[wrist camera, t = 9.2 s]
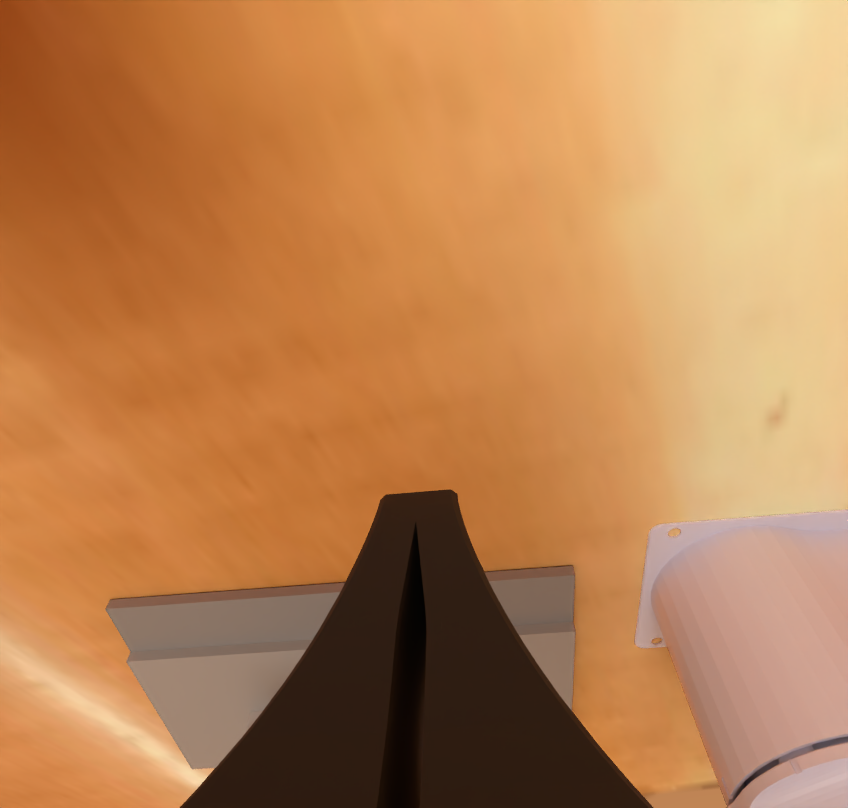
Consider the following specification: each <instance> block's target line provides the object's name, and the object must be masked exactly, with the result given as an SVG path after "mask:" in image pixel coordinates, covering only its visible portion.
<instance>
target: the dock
mask: <svg viewBox="0 0 848 808" xmlns="http://www.w3.org/2000/svg"><path fill="white" fill-rule="evenodd" d="M485 575H486V577H487V579H488V581H489V583H490V585H491V587H492V589H493V591H494V592H495V594H496V596H497V598H498V600H499V602H500V604H501V605H502V607H503V609H504V611H505V612H506V614H507V616H508V618H509V619H510V621H511V623H512V625H513V626H514V628H515V630H516V631H517V633H518V634H519V636H520V638H521V639H522V641H523V643H524V644H525V646H526V647H527V649H528V650H529V652H530V653H531V655H532V656H533V658H534V659H535V661H536V662H537V664H538V665H539V667H540V668H541V670H542V671H543V673H544V674H545V675H546V677H547V678H548V680H549V681H550V682H551V684H552V685H553V687H554V688H555V690H556V691H557V692H558V694H559V695H560V696H561V698H562V699H563V700H564V702H565V703H566V704H567V705H568V707H569V708H570V709H571V711H572V696H573V674H574V653H575V627H574V623H573V613H574V589H575V573H574V569H573V566H562V567H548V568H535V569H521V570H507V571H494V572H485ZM344 584H345V582H344V583H330V584H317V585H303V586H290V587H276V588H262V589H249V590H235V591H222V592H208V593H194V594H181V595H167V596H153V597H140V598H126V599H113V600H110V601H109V603H108V605H107V607H106V611H107V613H108V614H109V616H110V618H111V619H112V621H113V623H114V625H115V626H116V628H117V630H118V631H119V633H120V635H121V636H122V638H123V640H124V641H125V643H126V645H127V646H128V648H129V650H130V651H131V653H130V655H129V657H128V659H127V663H128V665H129V667H130V668H131V670H132V672H133V673H134V675H135V677H136V678H137V680H138V682H139V683H140V685H141V686H142V688H143V690H144V691H145V693H146V695H147V696H148V698H149V700H150V701H151V703H152V704H153V706H154V708H155V709H156V711H157V713H158V714H159V716H160V718H161V719H162V721H163V722H164V724H165V726H166V727H167V729H168V731H169V732H170V734H171V736H172V737H173V739H174V740H175V742H176V744H177V745H178V747H179V749H180V750H181V752H182V754H183V755H184V757H185V758H186V760H187V762H188V763H189V765H190V767H191V768H192V769H203V768H216V767H217V766H218V764H219V763H220V762H221V761H222V760H223V759H224V758H225V756H226V755H227V754H228V753H229V752H230V751H231V749H232V748H233V747H234V746H235V745H236V744H237V742H238V741H239V740H240V739H241V738H242V737H243V735H244V734H245V733H246V732H247V730H248V729H249V728H250V727H251V726H252V724H253V723H254V722H255V720H256V719H257V718H258V717H259V715H260V714H261V713H262V711H263V710H264V709H265V707H266V706H267V705H268V703H269V702H270V701H271V699H272V698H273V697H274V695H275V694H276V693H277V691H278V690H279V689H280V687H281V686H282V685H283V683H284V682H285V680H286V679H287V678H288V676H289V675H290V673H291V672H292V670H293V669H294V667H295V666H296V664H297V663H298V661H299V660H300V659H301V657H302V656H303V654H304V653H305V651H306V649H307V648H308V646H309V645H310V643H311V642H312V640H313V638H314V637H315V635H316V634H317V632H318V630H319V629H320V627H321V625H322V624H323V622H324V620H325V618H326V617H327V615H328V613H329V611H330V609H331V608H332V606H333V604H334V602H335V601H336V599H337V597H338V595H339V594H340V592H341V590H342V588H343V586H344Z"/></svg>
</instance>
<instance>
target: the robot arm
mask: <svg viewBox="0 0 848 808" xmlns="http://www.w3.org/2000/svg"><path fill="white" fill-rule="evenodd" d="M674 528H677V529H680V533H679V534H678V535H677V536H669V535H668V532H669V531H670V530H671V529H674ZM655 638H661V639H662V641H661V642H659V643H656V644H654V643H651V641H652V640H653V639H655ZM634 642H635V645H636V646H637V647H640V648H656V647H667V648H668V651H669V653H670V656H671V659H672V661H673V664H674V667H675V669H676V672H677V675H678V677H679V680H680V683H681V685H682V688H683V691H684V693H685V696H686V699H687V701H688V704H689V706H690V709H691V712H692V714H693V717H694V720H695V722H696V725H697V728H698V730H699V733H700V736H701V738H702V741H703V744H704V746H705V749H706V752H707V754H708V757H709V760H710V762H711V765H712V768H713V770H714V773H715V776H716V778H717V781H718V784H719V786H720V789H721V792H722V794H723V797H724V800H725V802H726V805H727V808H848V509H847V510H834V511H821V512H808V513H795V514H782V515H769V516H756V517H743V518H730V519H717V520H704V521H690V522H677V523H664V524H658V525H656V526H654V527H653V528H652V529H651V530H650V531H649V534H648V541H647V549H646V556H645V564H644V572H643V579H642V587H641V595H640V602H639V610H638V618H637V625H636V633H635V640H634ZM180 808H653V807H652V806H651V805H650V804H649V802H648V801H647V800H646V799H645V798H644V797H643V796H642V795H641V793H640V792H639V791H638V790H637V789H636V788H635V787H634V786H633V785H632V783H631V782H630V781H629V780H628V779H627V778H626V777H625V776H624V774H623V773H622V772H621V771H620V770H619V769H618V767H617V766H616V765H615V764H614V763H613V761H612V760H611V759H610V758H609V757H608V756H607V754H606V753H605V752H604V751H603V750H602V749H601V747H600V746H599V745H598V744H597V743H596V741H595V740H594V739H593V737H592V736H591V735H590V734H589V732H588V731H587V730H586V728H585V727H584V726H583V725H582V723H581V722H580V721H579V719H578V718H577V717H576V716H575V714H574V713H573V712H572V711H571V709H570V708H569V707H568V705H567V704H566V703H565V702H564V700H563V699H562V698H561V696H560V695H559V694H558V692H557V691H556V690H555V688H554V687H553V685H552V684H551V682H550V681H549V680H548V678H547V677H546V675H545V674H544V673H543V671H542V670H541V668H540V667H539V665H538V664H537V662H536V661H535V659H534V658H533V656H532V655H531V653H530V652H529V650H528V649H527V647H526V646H525V644H524V643H523V641H522V639H521V638H520V636H519V634H518V633H517V631H516V630H515V628H514V626H513V625H512V623H511V621H510V619H509V618H508V616H507V614H506V612H505V611H504V609H503V607H502V605H501V604H500V602H499V600H498V598H497V596H496V594H495V592H494V591H493V589H492V587H491V585H490V583H489V581H488V579H487V577H486V575H485V572H484V570H483V568H482V566H481V564H480V562H479V560H478V558H477V556H476V553H475V551H474V549H473V546H472V544H471V541H470V539H469V536H468V533H467V531H466V528H465V525H464V522H463V519H462V515H461V512H460V507H459V503H458V496H457V493H455V492H454V491H452V490H439V491H426V492H414V493H402V494H389V495H385V496H384V497H383V498H382V499H381V500H380V504H379V507H378V510H377V513H376V515H375V518H374V521H373V523H372V526H371V528H370V531H369V533H368V536H367V538H366V540H365V543H364V545H363V547H362V549H361V552H360V554H359V556H358V558H357V560H356V562H355V564H354V566H353V568H352V570H351V572H350V574H349V576H348V578H347V580H346V582H345V584H344V586H343V588H342V590H341V592H340V594H339V595H338V597H337V599H336V601H335V602H334V604H333V606H332V608H331V609H330V611H329V613H328V615H327V617H326V618H325V620H324V622H323V624H322V625H321V627H320V629H319V630H318V632H317V634H316V635H315V637H314V638H313V640H312V642H311V643H310V645H309V646H308V648H307V649H306V651H305V653H304V654H303V656H302V657H301V659H300V660H299V661H298V663H297V664H296V666H295V667H294V669H293V670H292V672H291V673H290V675H289V676H288V678H287V679H286V680H285V682H284V683H283V685H282V686H281V687H280V689H279V690H278V691H277V693H276V694H275V695H274V697H273V698H272V699H271V701H270V702H269V703H268V705H267V706H266V707H265V709H264V710H263V711H262V713H261V714H260V715H259V717H258V718H257V719H256V720H255V722H254V723H253V724H252V726H251V727H250V728H249V729H248V730H247V732H246V733H245V734H244V735H243V737H242V738H241V739H240V740H239V741H238V742H237V744H236V745H235V746H234V747H233V748H232V749H231V751H230V752H229V753H228V754H227V755H226V756H225V758H224V759H223V760H222V761H221V762H220V763H219V764H218V766H217V767H216V768H215V769H214V770H213V771H212V773H211V774H210V775H209V776H208V777H207V778H206V780H205V781H204V782H203V783H202V784H201V785H200V786H199V788H198V789H197V790H196V791H195V792H194V793H193V794H192V795H191V796H190V797H189V798H188V799H187V801H186V802H185V803H184V804H183V805H182V806H181V807H180Z"/></svg>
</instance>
